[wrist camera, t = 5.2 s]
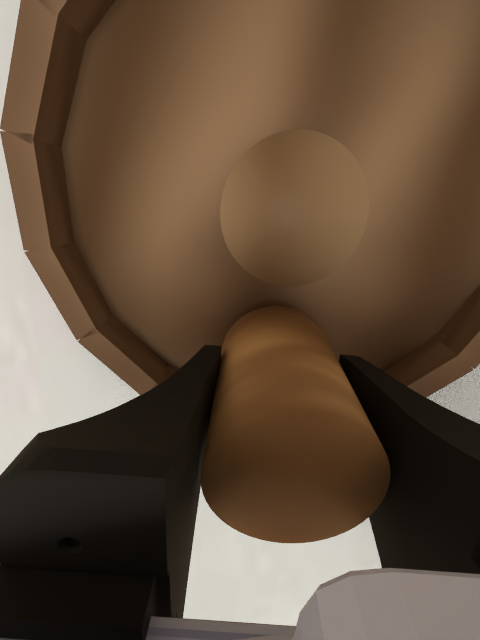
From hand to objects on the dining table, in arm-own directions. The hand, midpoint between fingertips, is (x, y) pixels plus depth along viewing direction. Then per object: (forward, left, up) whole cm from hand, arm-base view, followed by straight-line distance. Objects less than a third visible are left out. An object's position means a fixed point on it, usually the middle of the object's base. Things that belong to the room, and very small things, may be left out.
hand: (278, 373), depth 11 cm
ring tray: (0, -6, -3) cm, 6 cm away
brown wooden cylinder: (0, 0, -2) cm, 2 cm away
